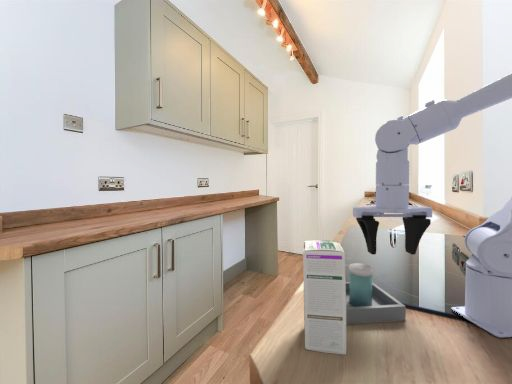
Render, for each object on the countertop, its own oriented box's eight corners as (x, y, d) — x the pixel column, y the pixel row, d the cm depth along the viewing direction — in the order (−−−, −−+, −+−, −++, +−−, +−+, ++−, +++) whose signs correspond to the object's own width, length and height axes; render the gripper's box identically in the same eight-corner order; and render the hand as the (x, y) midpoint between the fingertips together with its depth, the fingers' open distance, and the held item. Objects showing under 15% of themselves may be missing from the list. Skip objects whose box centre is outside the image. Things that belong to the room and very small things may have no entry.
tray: (370, 292, 50) (370, 280, 50) (405, 320, 40) (405, 306, 40) (323, 294, 49) (323, 283, 49) (346, 324, 39) (346, 309, 39)
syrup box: (347, 356, 32) (348, 250, 31) (303, 350, 33) (303, 248, 32) (340, 330, 37) (341, 240, 37) (303, 326, 38) (303, 239, 38)
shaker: (364, 297, 47) (364, 262, 46) (377, 308, 43) (377, 270, 42) (344, 298, 46) (345, 263, 46) (355, 309, 42) (356, 271, 42)
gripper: (363, 185, 42) (362, 259, 43) (445, 185, 42) (443, 259, 42) (349, 185, 50) (348, 248, 50) (419, 184, 49) (418, 248, 50)
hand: (391, 253), depth 47 cm, fingers open, 7 cm apart
